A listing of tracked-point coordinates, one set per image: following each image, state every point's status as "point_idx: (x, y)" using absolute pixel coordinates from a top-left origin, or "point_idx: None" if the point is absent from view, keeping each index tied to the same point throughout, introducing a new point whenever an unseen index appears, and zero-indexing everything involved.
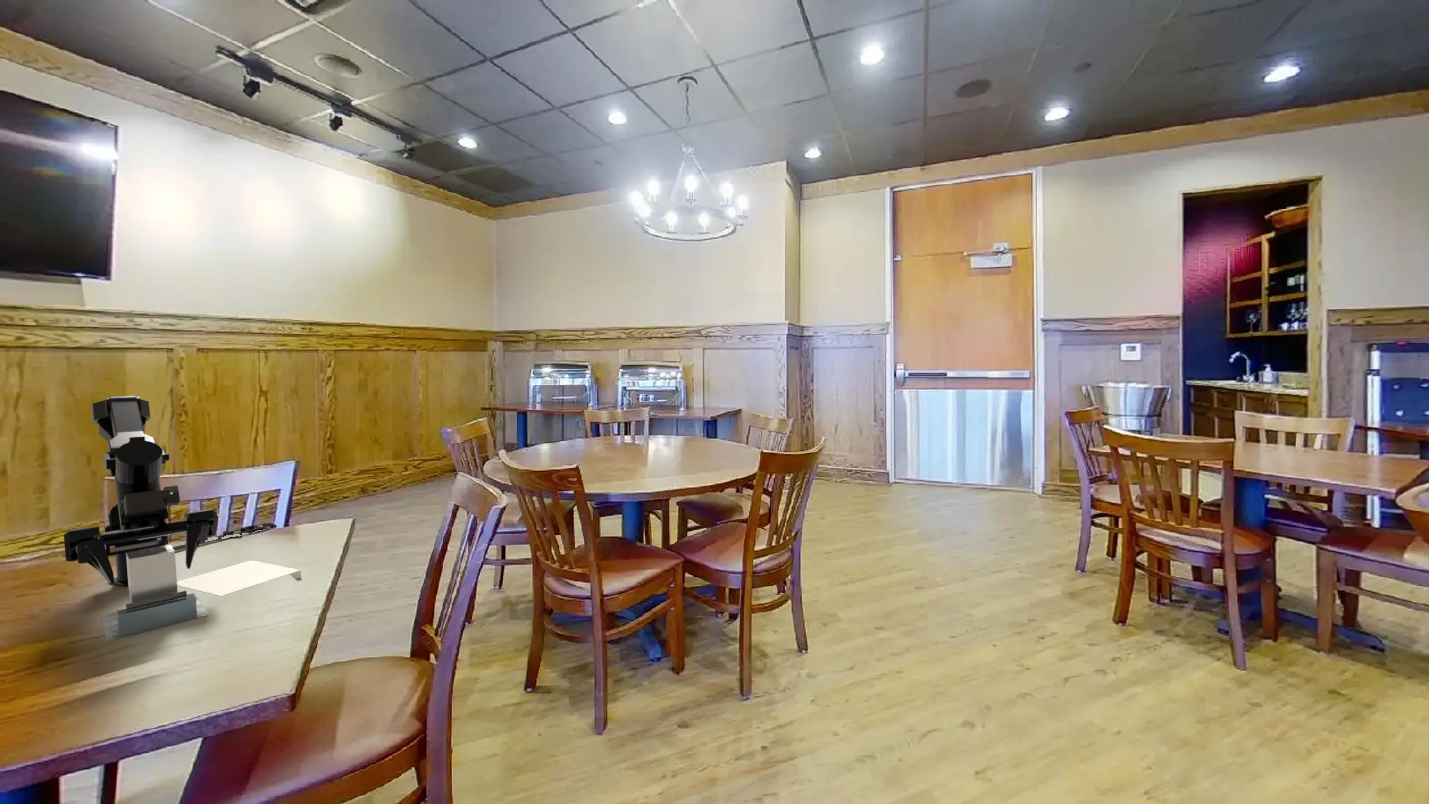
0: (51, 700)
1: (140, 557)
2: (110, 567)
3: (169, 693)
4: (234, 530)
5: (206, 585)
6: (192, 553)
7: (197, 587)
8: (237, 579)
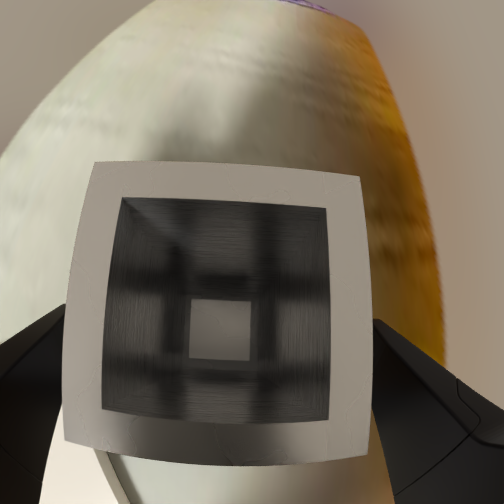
0: (366, 95)
1: (297, 169)
2: (409, 359)
3: (254, 25)
4: None
5: (82, 488)
6: (18, 336)
7: (102, 494)
8: None
